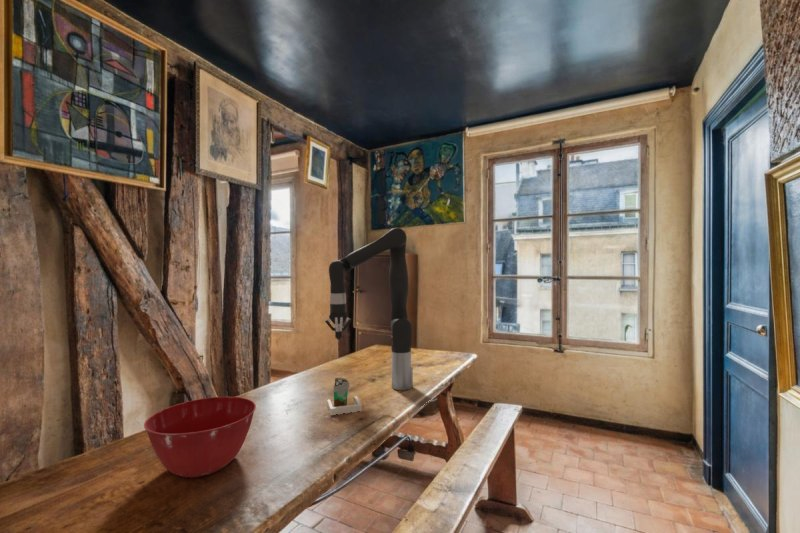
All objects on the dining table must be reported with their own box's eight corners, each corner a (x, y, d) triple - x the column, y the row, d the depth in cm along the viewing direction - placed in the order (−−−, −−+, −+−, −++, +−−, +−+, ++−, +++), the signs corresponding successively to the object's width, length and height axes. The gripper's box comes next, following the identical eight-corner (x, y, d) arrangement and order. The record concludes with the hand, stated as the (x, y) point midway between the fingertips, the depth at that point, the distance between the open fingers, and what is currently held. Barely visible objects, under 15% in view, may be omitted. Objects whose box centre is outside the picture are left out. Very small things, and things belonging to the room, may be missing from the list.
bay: (356, 401, 157) (356, 396, 157) (362, 411, 147) (362, 404, 147) (327, 405, 153) (327, 399, 153) (330, 415, 143) (330, 408, 143)
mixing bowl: (185, 441, 123) (185, 394, 123) (270, 441, 122) (270, 395, 122) (118, 494, 94) (117, 433, 94) (228, 495, 94) (227, 434, 93)
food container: (349, 411, 147) (349, 386, 147) (333, 412, 146) (333, 386, 146) (349, 400, 159) (349, 376, 159) (335, 400, 158) (335, 377, 158)
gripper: (324, 304, 170) (325, 341, 170) (353, 302, 174) (353, 339, 174) (323, 302, 177) (323, 338, 177) (350, 301, 181) (350, 336, 181)
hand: (338, 339), depth 175 cm, fingers closed
